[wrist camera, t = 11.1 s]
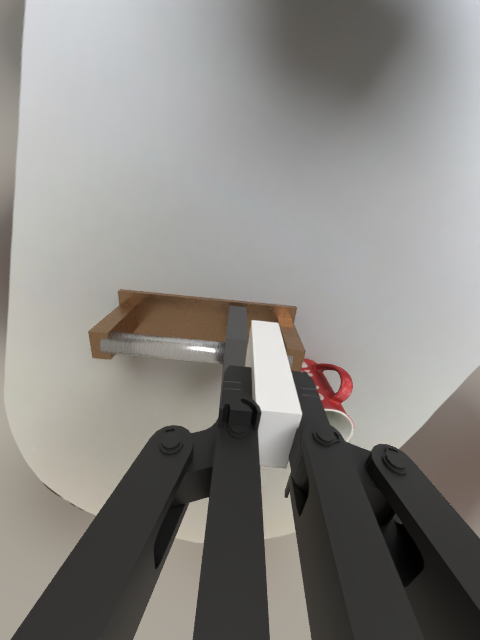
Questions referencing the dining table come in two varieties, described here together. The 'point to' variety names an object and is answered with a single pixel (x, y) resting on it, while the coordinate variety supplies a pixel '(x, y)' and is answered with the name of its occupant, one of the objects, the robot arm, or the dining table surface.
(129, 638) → the robot arm
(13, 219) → the dining table surface
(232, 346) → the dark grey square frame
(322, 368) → the mug
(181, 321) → the pipe rig
